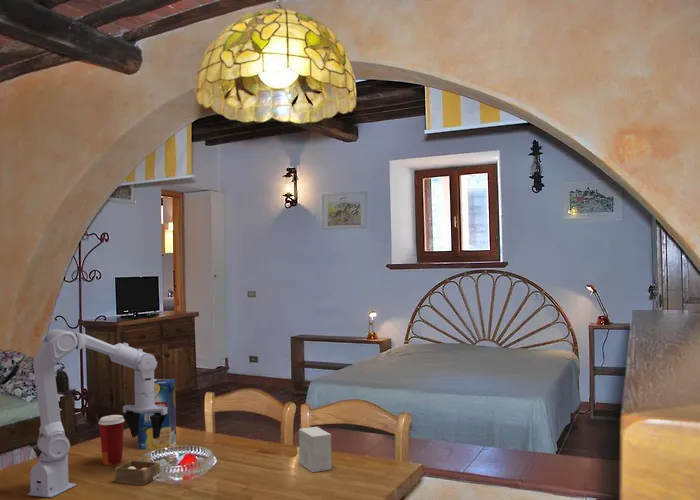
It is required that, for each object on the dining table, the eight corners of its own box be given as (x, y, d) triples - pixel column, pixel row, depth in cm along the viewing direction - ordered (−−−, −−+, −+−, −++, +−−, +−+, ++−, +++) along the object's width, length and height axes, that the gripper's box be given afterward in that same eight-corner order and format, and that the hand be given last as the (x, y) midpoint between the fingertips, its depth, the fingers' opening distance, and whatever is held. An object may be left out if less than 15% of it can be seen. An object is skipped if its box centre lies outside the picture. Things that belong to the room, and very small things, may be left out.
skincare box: (332, 469, 184) (331, 433, 184) (312, 473, 181) (311, 436, 181) (318, 459, 193) (317, 425, 193) (298, 463, 190) (298, 428, 190)
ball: (132, 479, 178) (132, 468, 178) (123, 478, 179) (123, 468, 179) (139, 475, 181) (138, 465, 181) (130, 474, 182) (130, 464, 182)
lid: (154, 475, 184) (153, 461, 184) (122, 472, 188) (122, 459, 188) (169, 466, 192) (168, 453, 192) (138, 464, 195) (138, 451, 195)
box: (145, 485, 175) (144, 470, 175) (115, 482, 178) (114, 468, 178) (160, 476, 181) (159, 462, 181) (131, 474, 184) (130, 460, 184)
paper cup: (129, 458, 199) (128, 414, 200) (118, 466, 192) (117, 420, 192) (106, 458, 200) (105, 414, 200) (94, 466, 193) (93, 420, 193)
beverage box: (145, 443, 216) (144, 379, 216) (176, 443, 215) (175, 379, 215) (137, 449, 209) (136, 383, 209) (170, 449, 208) (168, 382, 209)
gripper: (172, 390, 192) (173, 434, 192) (132, 388, 196) (133, 432, 196) (159, 395, 185) (160, 441, 185) (118, 393, 189) (119, 438, 189)
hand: (145, 437), depth 190 cm, fingers open, 7 cm apart
